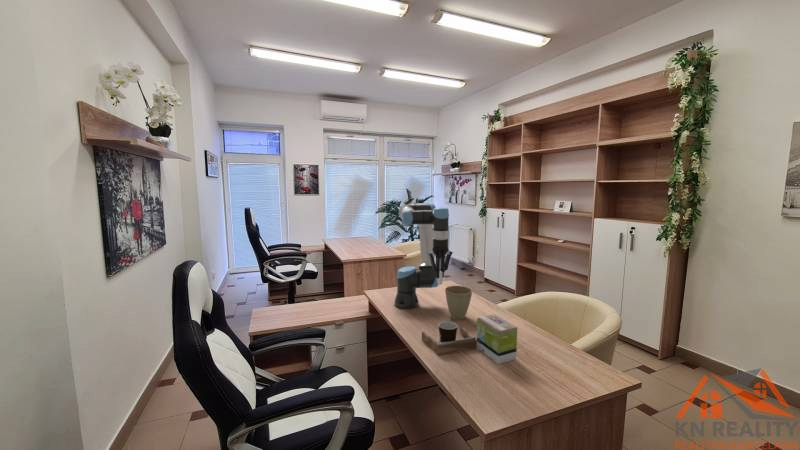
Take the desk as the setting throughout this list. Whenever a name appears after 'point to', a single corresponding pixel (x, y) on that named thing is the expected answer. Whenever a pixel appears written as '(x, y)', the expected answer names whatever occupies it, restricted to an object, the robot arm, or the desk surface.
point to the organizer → (451, 343)
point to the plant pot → (458, 300)
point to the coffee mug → (447, 331)
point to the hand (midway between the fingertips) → (439, 283)
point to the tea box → (497, 338)
